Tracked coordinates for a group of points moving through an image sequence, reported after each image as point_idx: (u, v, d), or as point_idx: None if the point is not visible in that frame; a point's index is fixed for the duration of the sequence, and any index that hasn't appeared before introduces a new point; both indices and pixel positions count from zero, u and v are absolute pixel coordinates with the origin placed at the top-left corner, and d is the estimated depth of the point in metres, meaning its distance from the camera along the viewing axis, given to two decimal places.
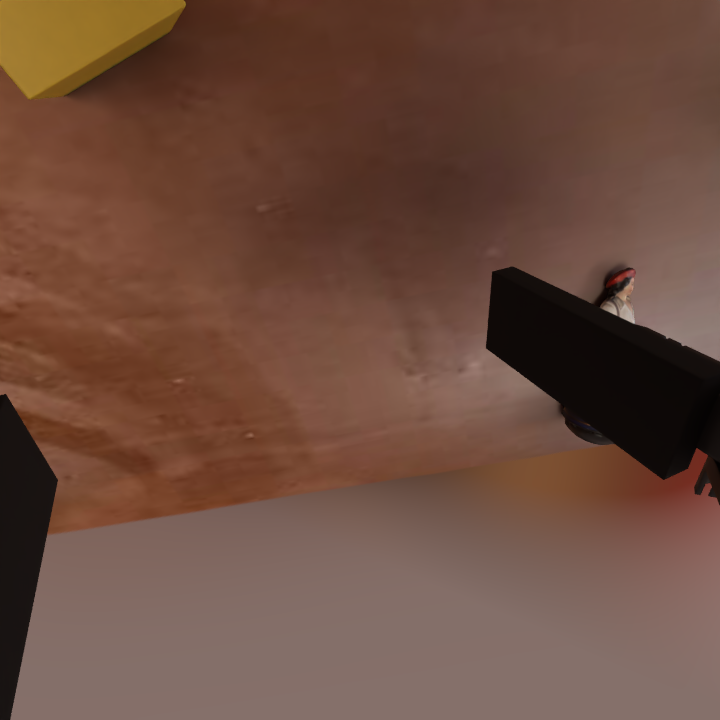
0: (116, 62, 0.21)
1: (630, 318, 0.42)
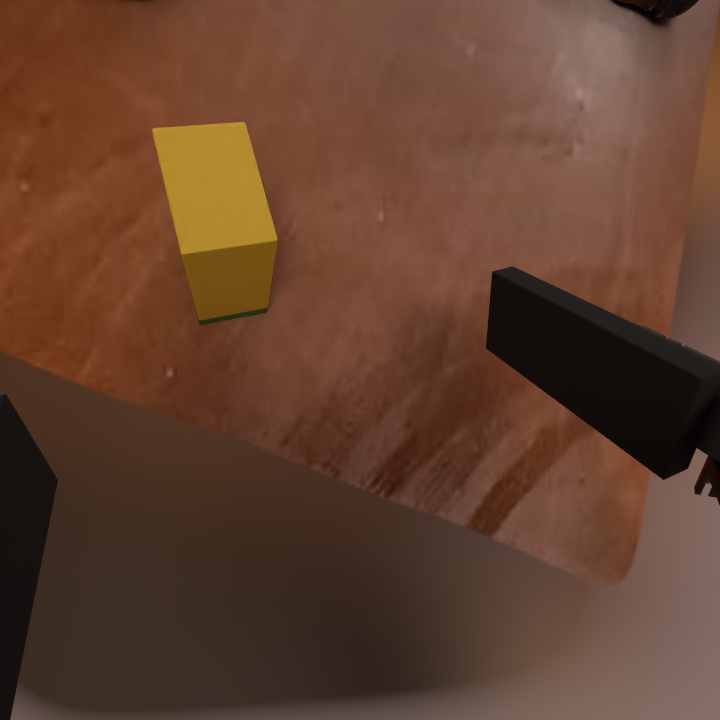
0: None
1: None
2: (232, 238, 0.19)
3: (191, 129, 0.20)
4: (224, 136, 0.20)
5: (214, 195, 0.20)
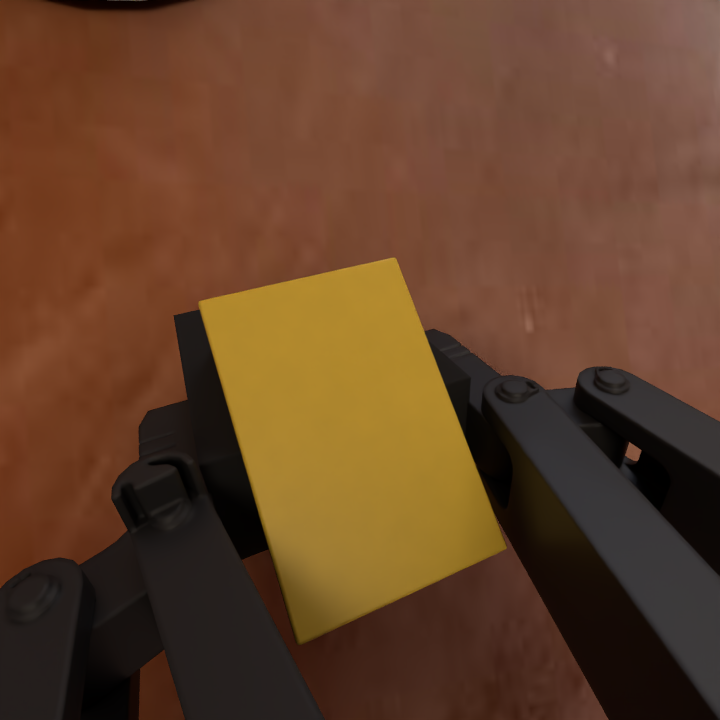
0: None
1: None
2: (411, 568, 0.08)
3: (286, 291, 0.09)
4: (360, 299, 0.09)
5: (356, 455, 0.08)
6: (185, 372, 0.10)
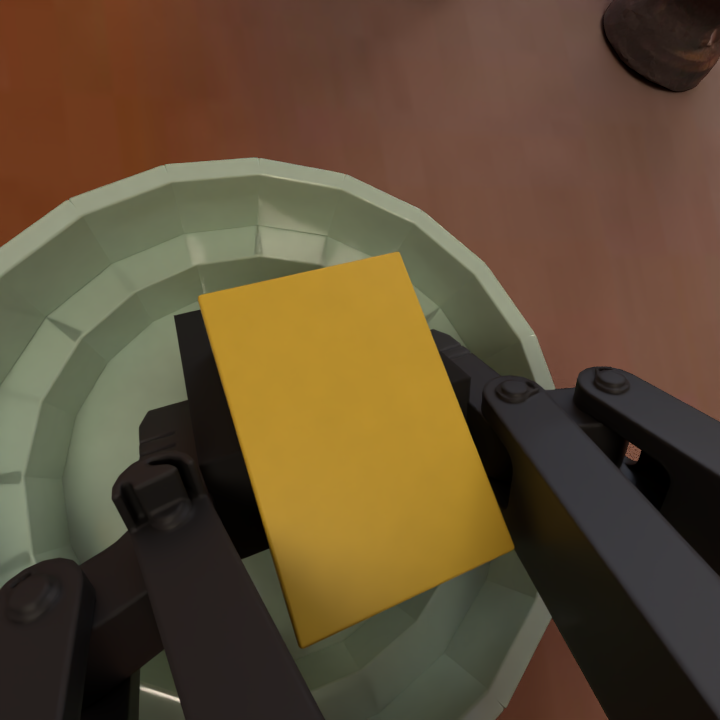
0: None
1: None
2: (417, 569, 0.08)
3: (287, 286, 0.08)
4: (363, 293, 0.09)
5: (360, 453, 0.08)
6: (185, 372, 0.10)
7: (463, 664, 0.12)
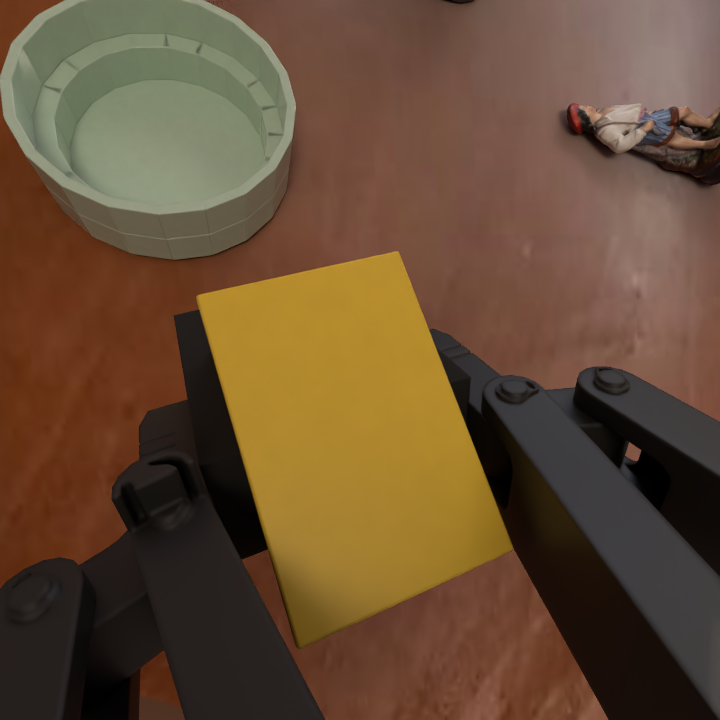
0: None
1: (623, 110, 0.40)
2: (414, 569, 0.08)
3: (286, 286, 0.08)
4: (361, 293, 0.09)
5: (358, 452, 0.08)
6: (185, 372, 0.10)
7: None
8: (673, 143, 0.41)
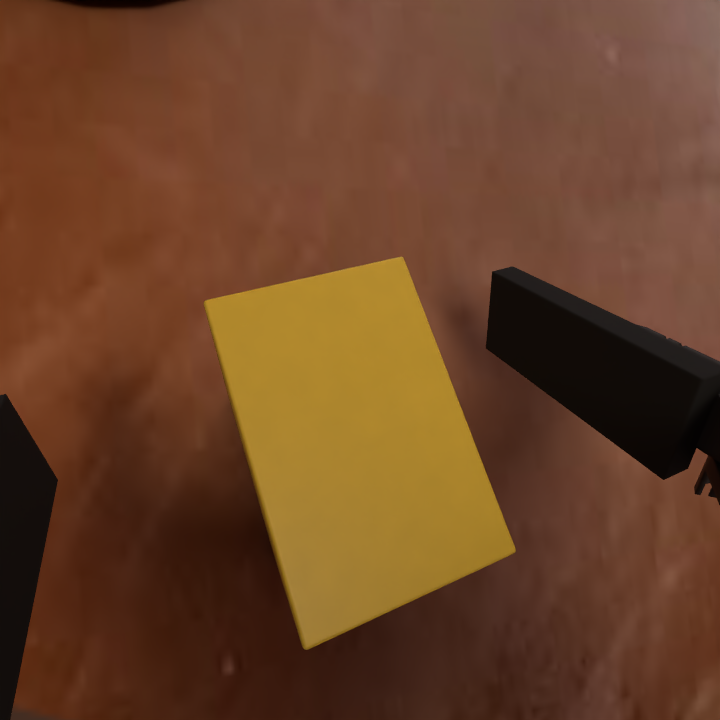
0: None
1: None
2: (420, 572, 0.08)
3: (292, 291, 0.09)
4: (366, 298, 0.09)
5: (364, 457, 0.08)
6: None
7: None
8: None
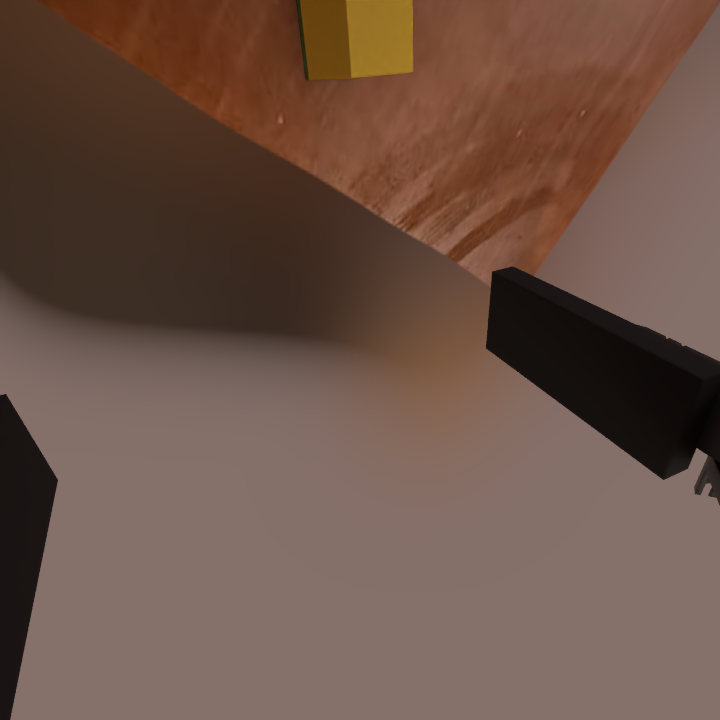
0: None
1: None
2: (385, 67, 0.27)
3: None
4: None
5: (379, 22, 0.25)
6: None
7: None
8: None
